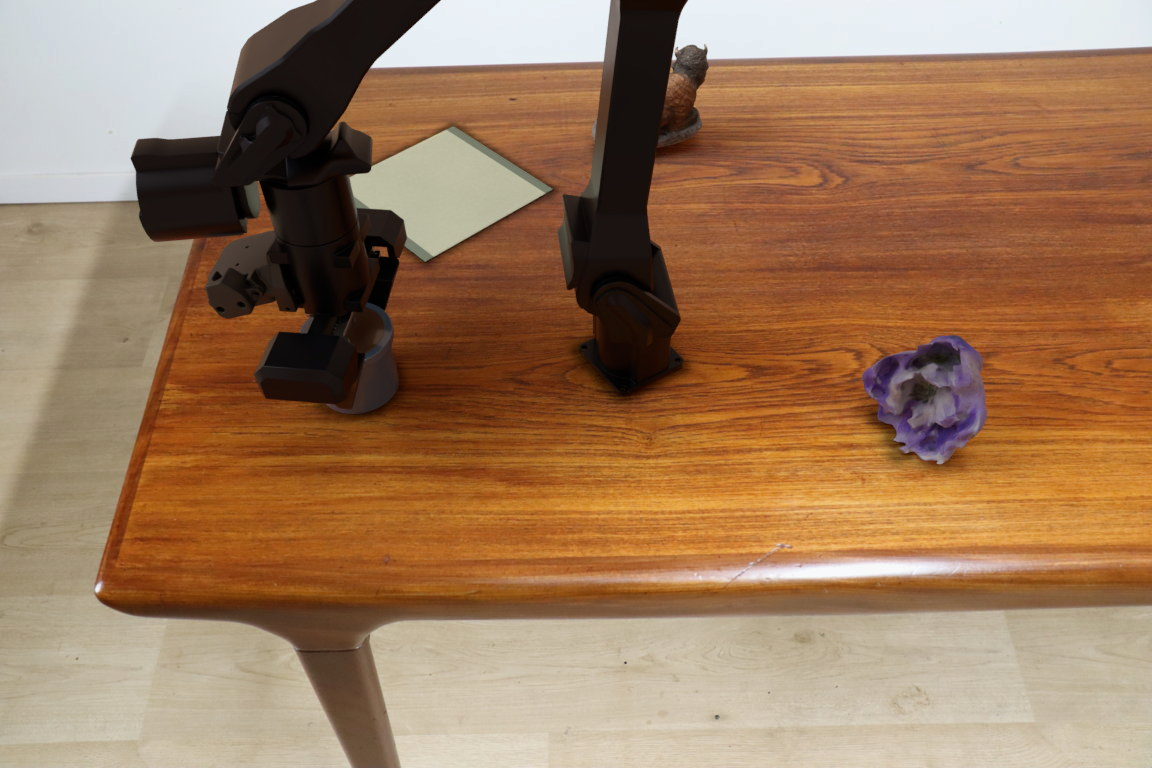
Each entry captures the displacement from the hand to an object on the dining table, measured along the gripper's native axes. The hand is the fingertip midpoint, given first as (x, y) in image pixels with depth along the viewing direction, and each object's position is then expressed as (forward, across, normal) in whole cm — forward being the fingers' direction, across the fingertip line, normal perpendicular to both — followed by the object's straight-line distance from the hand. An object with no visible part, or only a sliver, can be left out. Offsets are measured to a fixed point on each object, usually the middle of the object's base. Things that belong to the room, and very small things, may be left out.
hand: (357, 375), depth 77 cm
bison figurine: (+1, -37, +21) cm, 43 cm away
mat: (+1, -27, +1) cm, 27 cm away
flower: (+1, -1, +45) cm, 45 cm away
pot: (+1, 0, 0) cm, 1 cm away
